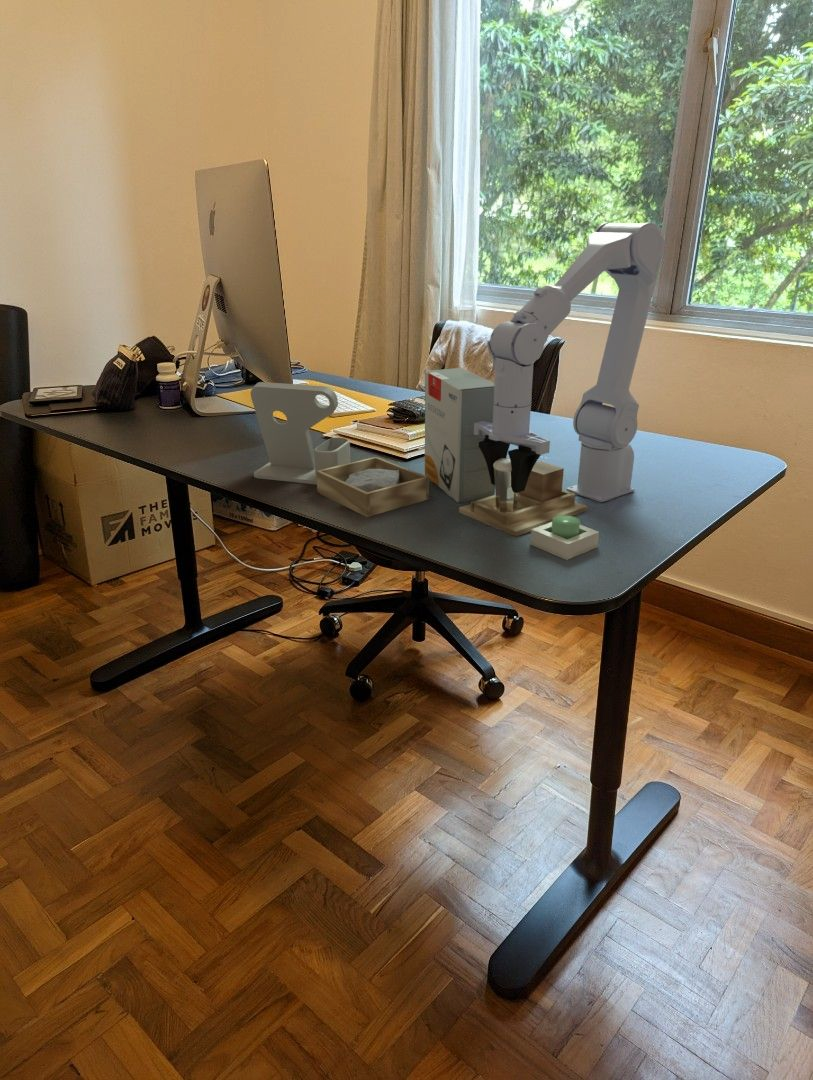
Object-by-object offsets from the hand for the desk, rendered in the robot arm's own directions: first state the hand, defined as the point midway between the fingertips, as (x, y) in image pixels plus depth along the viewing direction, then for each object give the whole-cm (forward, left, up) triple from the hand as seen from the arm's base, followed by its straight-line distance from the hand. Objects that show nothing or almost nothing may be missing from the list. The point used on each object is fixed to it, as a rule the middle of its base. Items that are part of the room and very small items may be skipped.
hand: (507, 487), depth 120 cm
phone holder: (+14, -40, -6) cm, 43 cm away
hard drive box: (-4, -16, -6) cm, 17 cm away
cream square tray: (+1, +14, -5) cm, 15 cm away
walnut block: (-8, 0, -4) cm, 9 cm away
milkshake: (0, 0, -5) cm, 5 cm away
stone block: (+11, -22, -6) cm, 25 cm away
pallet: (-4, 0, -5) cm, 7 cm away
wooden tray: (+11, -22, -5) cm, 25 cm away
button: (+1, +13, -4) cm, 14 cm away
